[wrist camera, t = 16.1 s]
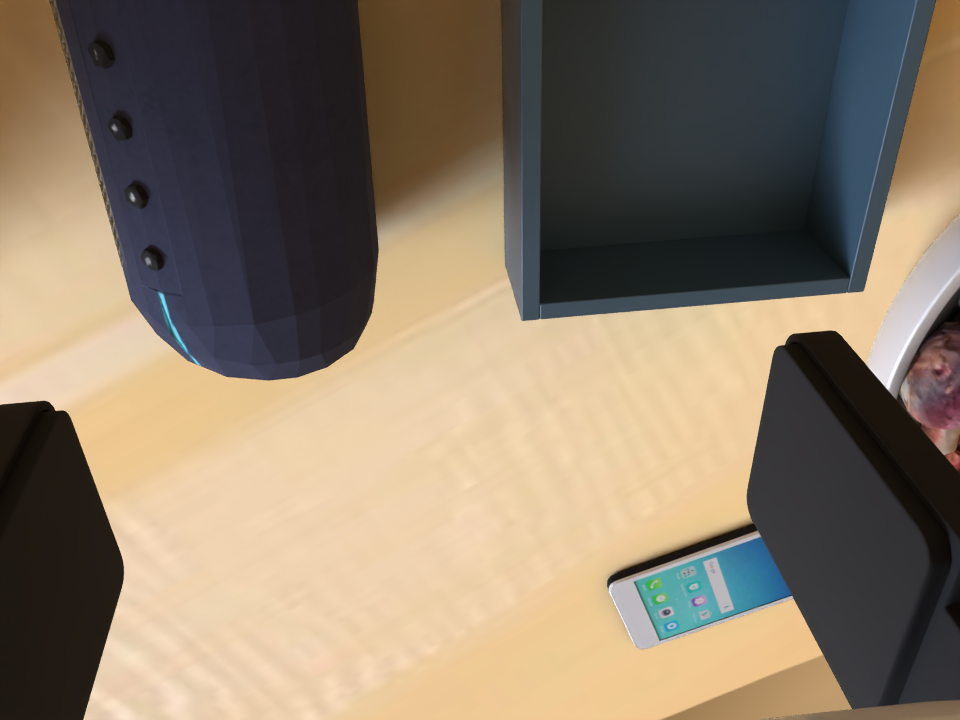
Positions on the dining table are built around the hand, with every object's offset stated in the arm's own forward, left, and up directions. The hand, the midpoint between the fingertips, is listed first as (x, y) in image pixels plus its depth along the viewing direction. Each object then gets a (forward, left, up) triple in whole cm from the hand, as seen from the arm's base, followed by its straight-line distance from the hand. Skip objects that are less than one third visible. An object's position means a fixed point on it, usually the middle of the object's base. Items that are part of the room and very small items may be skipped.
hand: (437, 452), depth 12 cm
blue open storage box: (+12, -5, -28) cm, 31 cm away
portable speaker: (-6, 0, -28) cm, 29 cm away
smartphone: (+19, -36, -28) cm, 50 cm away
